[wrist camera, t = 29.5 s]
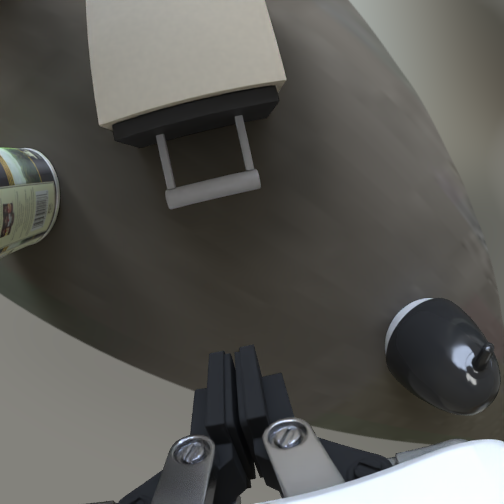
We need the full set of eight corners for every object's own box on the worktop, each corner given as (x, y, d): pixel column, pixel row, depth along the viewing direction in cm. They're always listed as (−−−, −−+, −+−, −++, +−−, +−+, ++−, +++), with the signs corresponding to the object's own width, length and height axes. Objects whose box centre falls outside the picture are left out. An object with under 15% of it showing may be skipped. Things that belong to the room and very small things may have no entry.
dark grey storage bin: (280, 181, 28) (297, 183, 21) (153, 211, 28) (132, 222, 21) (235, -6, 23) (239, -45, 17) (119, 22, 23) (96, -10, 16)
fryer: (269, 106, 27) (286, 80, 19) (133, 138, 27) (99, 126, 18) (236, -19, 24) (241, -69, 15) (114, 11, 23) (85, -30, 15)
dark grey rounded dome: (443, 272, 32) (536, 325, 18) (444, 346, 35) (516, 411, 20) (367, 302, 32) (447, 382, 18) (376, 376, 35) (435, 463, 20)
